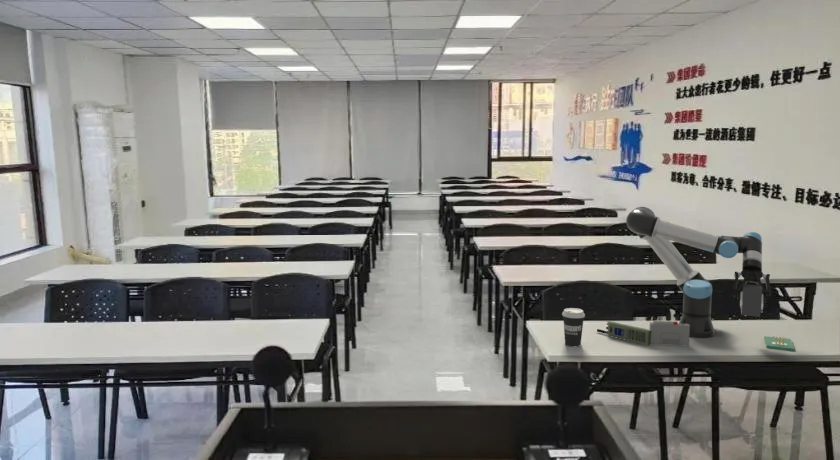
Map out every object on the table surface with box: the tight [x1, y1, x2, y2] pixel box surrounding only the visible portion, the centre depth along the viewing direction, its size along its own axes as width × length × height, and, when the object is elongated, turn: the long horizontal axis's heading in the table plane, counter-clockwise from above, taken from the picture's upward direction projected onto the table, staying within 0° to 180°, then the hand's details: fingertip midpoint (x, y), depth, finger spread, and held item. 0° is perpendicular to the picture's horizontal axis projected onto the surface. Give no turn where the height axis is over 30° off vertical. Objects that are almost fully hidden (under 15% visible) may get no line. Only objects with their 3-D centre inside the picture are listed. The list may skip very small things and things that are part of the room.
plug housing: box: [740, 284, 762, 318], centre depth 256 cm, size 7×7×12 cm
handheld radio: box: [596, 320, 651, 346], centre depth 265 cm, size 7×3×25 cm
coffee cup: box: [561, 307, 586, 347], centre depth 257 cm, size 10×10×15 cm
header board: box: [763, 335, 795, 352], centre depth 255 cm, size 10×14×4 cm
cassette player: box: [649, 320, 690, 347], centre depth 257 cm, size 16×3×10 cm, turn 80°
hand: (751, 307), depth 253 cm, fingers closed on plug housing, 7 cm apart
